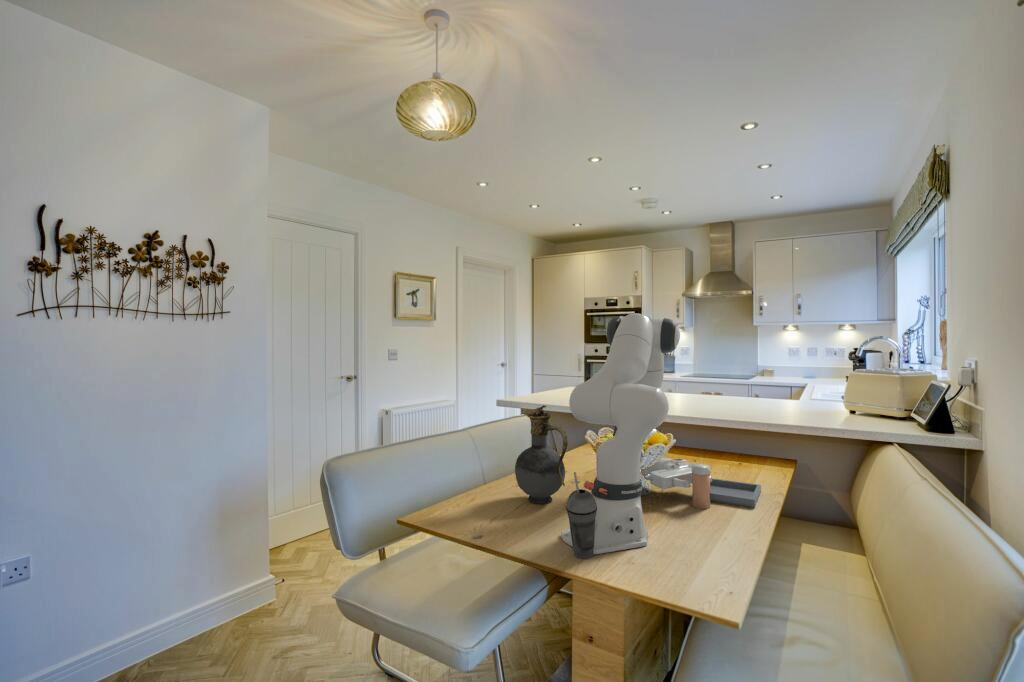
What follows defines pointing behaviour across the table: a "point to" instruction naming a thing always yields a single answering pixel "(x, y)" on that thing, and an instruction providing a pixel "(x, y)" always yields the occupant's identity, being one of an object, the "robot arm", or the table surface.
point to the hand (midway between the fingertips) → (699, 482)
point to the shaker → (701, 486)
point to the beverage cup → (582, 521)
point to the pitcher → (541, 461)
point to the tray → (734, 492)
